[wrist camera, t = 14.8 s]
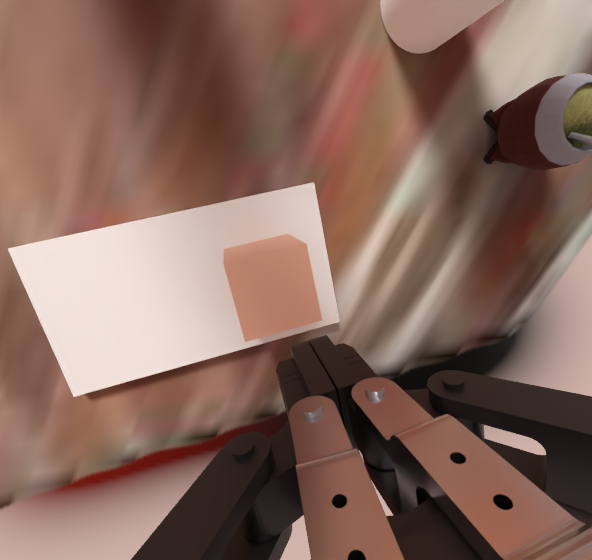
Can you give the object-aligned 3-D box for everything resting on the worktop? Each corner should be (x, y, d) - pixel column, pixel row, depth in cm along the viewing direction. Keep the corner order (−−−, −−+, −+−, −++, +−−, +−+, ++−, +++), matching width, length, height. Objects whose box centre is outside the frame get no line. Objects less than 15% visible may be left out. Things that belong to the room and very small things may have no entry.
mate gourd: (505, 78, 32) (737, -20, 17) (553, 135, 34) (792, 89, 20) (456, 146, 32) (642, 104, 18) (507, 196, 35) (706, 195, 20)
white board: (80, 387, 30) (73, 396, 29) (19, 246, 27) (7, 248, 25) (334, 316, 34) (339, 321, 32) (309, 183, 30) (313, 182, 29)
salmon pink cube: (240, 310, 30) (245, 342, 23) (223, 249, 28) (223, 264, 22) (300, 293, 31) (322, 320, 24) (287, 233, 29) (306, 243, 23)
